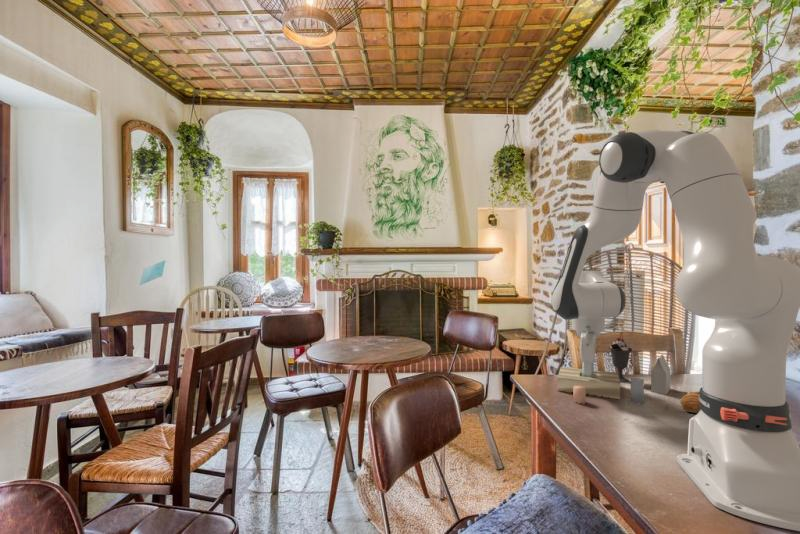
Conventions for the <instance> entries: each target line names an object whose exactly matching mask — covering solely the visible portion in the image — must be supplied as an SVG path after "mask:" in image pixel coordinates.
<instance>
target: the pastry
mask: <svg viewBox="0 0 800 534" xmlns="http://www.w3.org/2000/svg"><path fill="white" fill-rule="evenodd" d="M699 392H700V391H690V392H687V393H686V394H685V395H683V396H682V397H681V399H680V404H681V407H682V409H683V411H685V412H686V413H687V412H688V413H689V412H690V413H694V414H696V415H697V414H698V413H699V411H700V410H701V409H700V408H699V399H698V398H699Z"/></svg>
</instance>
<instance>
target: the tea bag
mask: <svg viewBox="0 0 800 534" xmlns="http://www.w3.org/2000/svg"><path fill="white" fill-rule="evenodd" d="M670 390H671V368H670V366H669V365H668V361H666V358H665V356H664V354H663V353H661V354H660V355H659V356H658V357H657V359H656V362H655V364H654V366H653V368H652V369H651V371H650V393H656V394H659V395H665V396H666V395H668V393H669V391H670Z"/></svg>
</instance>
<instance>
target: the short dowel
mask: <svg viewBox="0 0 800 534" xmlns="http://www.w3.org/2000/svg"><path fill="white" fill-rule="evenodd" d="M572 395H573V397H572V398H573V401H574V402H577V403H585V402H586V403H587V401H586V388H585V387H583V386H573V394H572ZM573 401H572V402H573ZM574 402H573V403H574ZM577 403H576V404H577ZM586 403H585V404H586Z"/></svg>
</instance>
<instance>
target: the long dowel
mask: <svg viewBox="0 0 800 534" xmlns="http://www.w3.org/2000/svg"><path fill="white" fill-rule="evenodd" d="M581 363H582V364H581V369H582V377H591V378H593V370H594V363H592V369H591V375H590V376H589V375H585V374H584V362H582V361H581Z"/></svg>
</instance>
